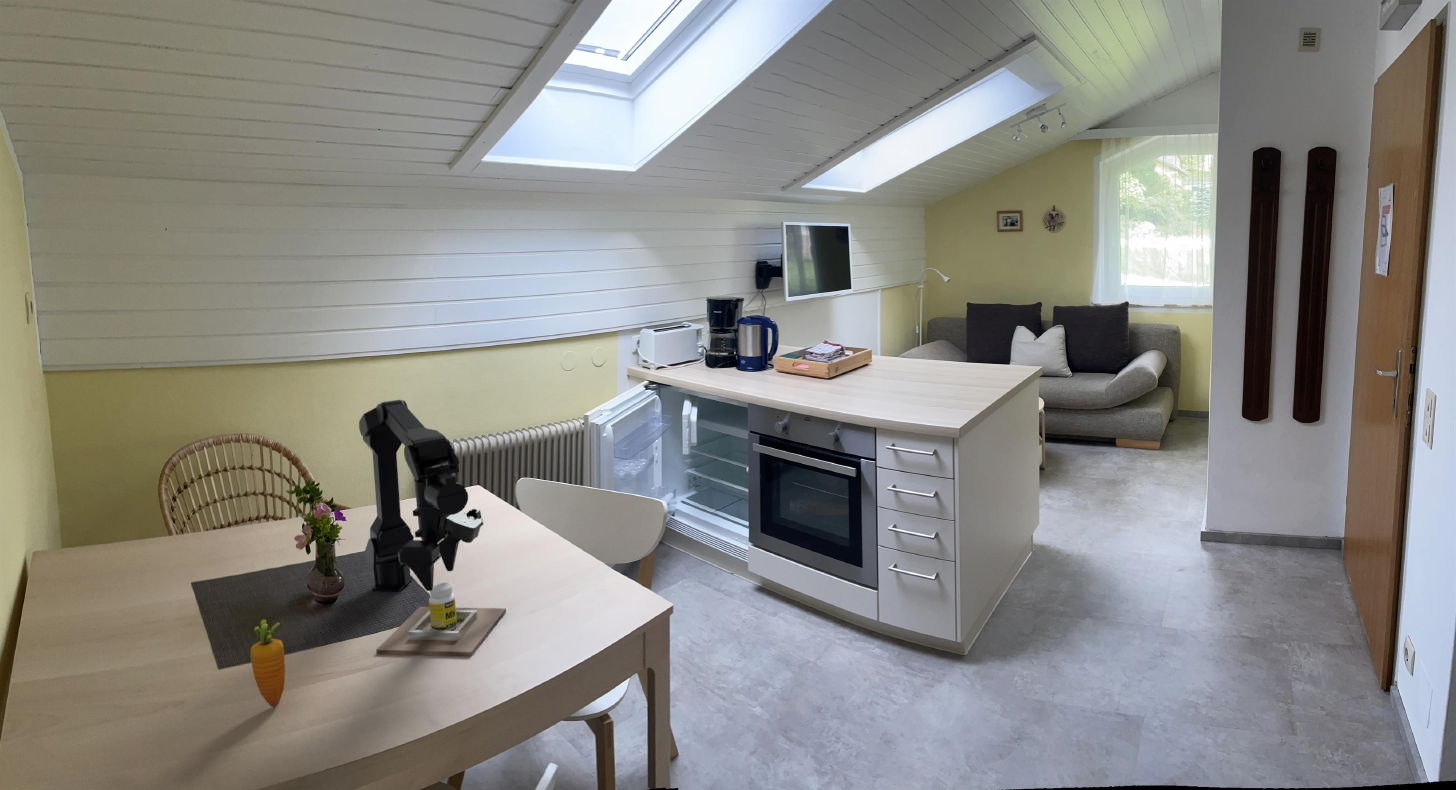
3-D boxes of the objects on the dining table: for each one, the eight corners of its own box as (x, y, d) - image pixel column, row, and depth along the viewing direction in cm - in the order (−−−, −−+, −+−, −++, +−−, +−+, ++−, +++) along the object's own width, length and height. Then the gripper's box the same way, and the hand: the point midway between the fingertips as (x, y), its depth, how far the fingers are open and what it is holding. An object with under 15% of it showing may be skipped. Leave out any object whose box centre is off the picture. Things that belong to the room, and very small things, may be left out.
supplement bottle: (449, 634, 159) (445, 592, 158) (426, 632, 160) (422, 591, 159) (462, 622, 164) (458, 582, 163) (439, 621, 165) (436, 580, 163)
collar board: (376, 653, 154) (375, 642, 154) (420, 610, 172) (419, 599, 171) (471, 656, 153) (470, 644, 152) (506, 612, 170) (505, 601, 170)
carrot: (265, 699, 140) (254, 615, 137) (296, 697, 140) (285, 613, 137) (251, 716, 135) (239, 629, 132) (284, 714, 135) (272, 627, 132)
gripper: (453, 518, 147) (461, 602, 150) (492, 487, 166) (498, 562, 168) (392, 518, 148) (401, 601, 151) (438, 487, 167) (445, 561, 169)
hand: (440, 580), depth 160 cm, fingers open, 9 cm apart
